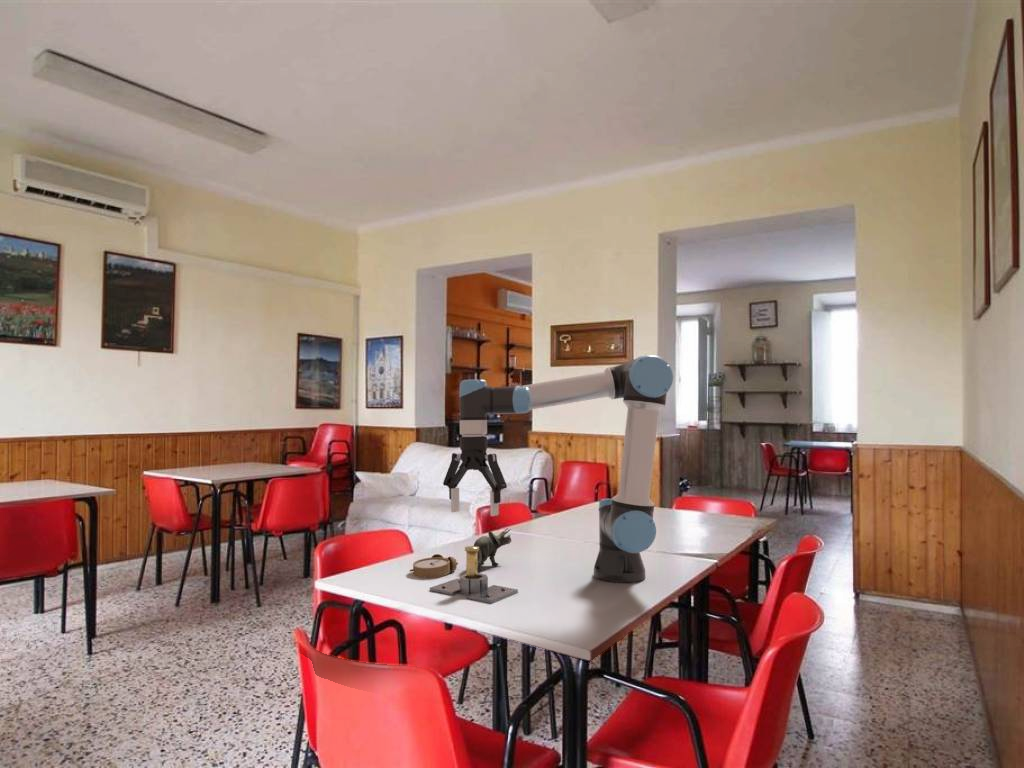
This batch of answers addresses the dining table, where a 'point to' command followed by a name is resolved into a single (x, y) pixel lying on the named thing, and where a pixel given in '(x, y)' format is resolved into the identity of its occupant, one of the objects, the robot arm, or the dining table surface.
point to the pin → (471, 562)
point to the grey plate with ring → (474, 589)
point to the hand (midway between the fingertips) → (474, 513)
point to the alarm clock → (434, 566)
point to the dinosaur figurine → (490, 547)
